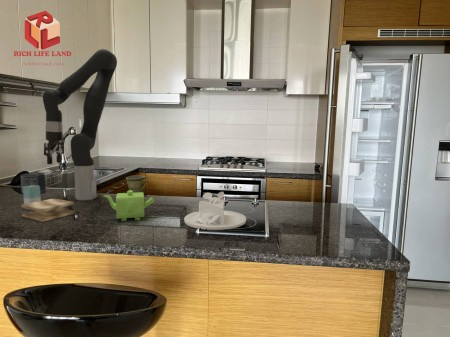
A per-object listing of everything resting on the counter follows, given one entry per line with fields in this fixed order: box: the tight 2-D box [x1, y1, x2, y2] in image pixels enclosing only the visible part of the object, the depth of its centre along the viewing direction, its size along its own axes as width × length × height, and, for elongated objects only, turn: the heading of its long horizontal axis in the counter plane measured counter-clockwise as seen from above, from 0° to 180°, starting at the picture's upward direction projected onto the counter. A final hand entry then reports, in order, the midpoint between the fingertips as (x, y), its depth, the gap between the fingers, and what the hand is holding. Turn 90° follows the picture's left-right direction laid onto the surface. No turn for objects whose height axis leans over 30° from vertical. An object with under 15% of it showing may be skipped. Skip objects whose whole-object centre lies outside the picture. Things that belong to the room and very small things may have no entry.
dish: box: [183, 191, 247, 231], centre depth 131 cm, size 25×25×11 cm
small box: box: [19, 173, 47, 195], centre depth 180 cm, size 11×6×10 cm, turn 84°
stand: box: [20, 198, 75, 223], centre depth 136 cm, size 14×14×5 cm
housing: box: [22, 185, 42, 211], centre depth 148 cm, size 5×5×10 cm
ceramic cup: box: [125, 175, 149, 193], centre depth 175 cm, size 13×10×10 cm
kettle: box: [103, 189, 155, 222], centre depth 133 cm, size 15×14×11 cm
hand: (54, 163), depth 164 cm, fingers open, 8 cm apart
